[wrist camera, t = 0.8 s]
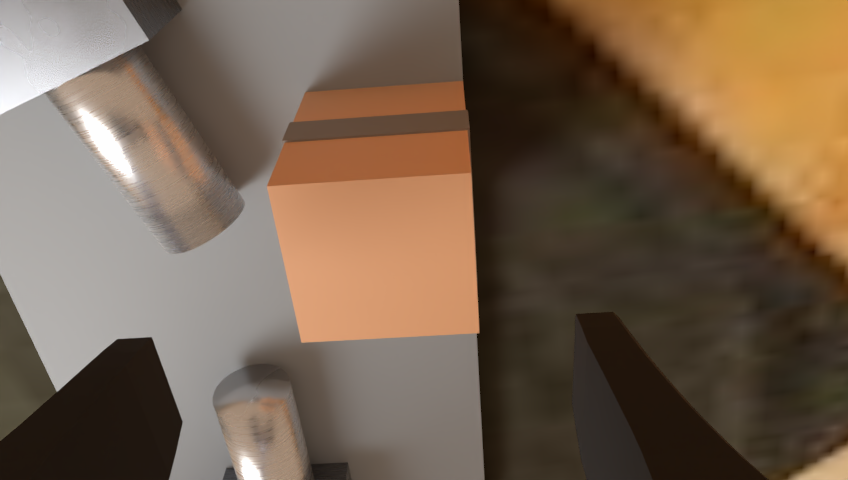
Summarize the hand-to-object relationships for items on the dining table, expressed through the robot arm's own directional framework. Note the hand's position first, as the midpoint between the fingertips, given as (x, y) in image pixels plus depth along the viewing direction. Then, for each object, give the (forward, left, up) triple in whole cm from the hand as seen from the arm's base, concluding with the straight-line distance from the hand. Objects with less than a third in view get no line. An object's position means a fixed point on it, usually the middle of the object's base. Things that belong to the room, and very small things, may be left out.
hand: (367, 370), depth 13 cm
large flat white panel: (-4, +5, -9) cm, 11 cm away
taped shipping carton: (0, 0, -8) cm, 8 cm away
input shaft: (-11, +5, -9) cm, 15 cm away
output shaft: (+2, +6, -9) cm, 11 cm away
